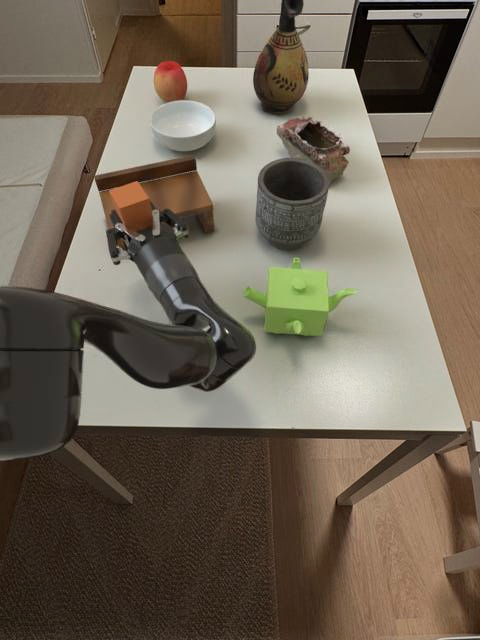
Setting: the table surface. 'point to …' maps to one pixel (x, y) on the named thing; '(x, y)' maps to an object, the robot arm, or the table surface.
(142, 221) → the carton
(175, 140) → the cereal bowl
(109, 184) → the shelf
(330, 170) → the decorative box
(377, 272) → the table surface
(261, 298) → the kettle
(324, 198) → the planter
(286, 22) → the ceramic jug
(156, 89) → the apple
